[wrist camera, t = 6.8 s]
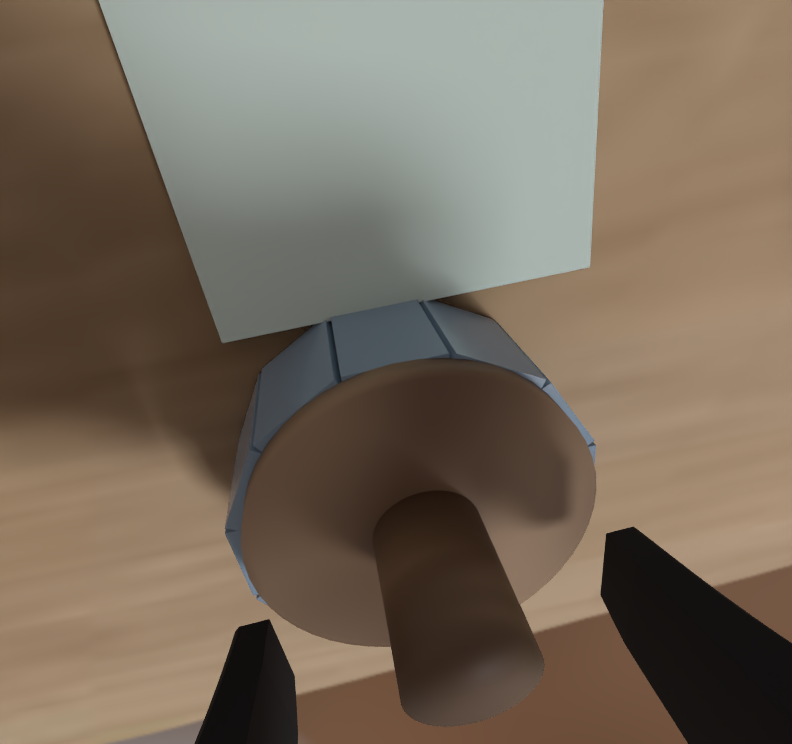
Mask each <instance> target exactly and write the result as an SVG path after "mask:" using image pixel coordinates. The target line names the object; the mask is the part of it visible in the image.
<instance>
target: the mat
mask: <svg viewBox="0 0 792 744" xmlns="http://www.w3.org/2000/svg"><path fill="white" fill-rule="evenodd" d="M603 2H604V0H99V3H100V6H101V8H102V11H103V14H104V17H105V20H106V22H107V25H108V28H109V31H110V33H111V36H112V39H113V42H114V45H115V47H116V50H117V53H118V56H119V58H120V61H121V64H122V67H123V70H124V72H125V75H126V78H127V81H128V83H129V86H130V89H131V92H132V95H133V97H134V100H135V103H136V106H137V108H138V111H139V114H140V117H141V120H142V122H143V125H144V128H145V131H146V133H147V136H148V139H149V142H150V145H151V147H152V150H153V153H154V156H155V158H156V161H157V164H158V167H159V170H160V172H161V175H162V178H163V181H164V183H165V186H166V189H167V192H168V195H169V197H170V200H171V203H172V206H173V208H174V211H175V214H176V217H177V220H178V222H179V225H180V228H181V231H182V233H183V236H184V239H185V242H186V245H187V247H188V250H189V253H190V256H191V258H192V261H193V264H194V267H195V270H196V272H197V275H198V278H199V281H200V283H201V286H202V289H203V292H204V295H205V297H206V300H207V303H208V306H209V308H210V311H211V314H212V317H213V320H214V322H215V325H216V328H217V331H218V333H219V336H220V339H221V342H222V343H226V342H231V341H236V340H241V339H246V338H250V337H255V336H260V335H265V334H270V333H274V332H279V331H284V330H289V329H294V328H299V327H303V326H308V325H313V324H318V323H322V322H323V321H324V320H326V321H327V322H328V321H331V317H334V316H339V315H344V314H349V313H353V312H358V311H363V310H368V309H373V308H378V307H382V306H387V305H392V304H397V303H402V302H407V301H411V300H416V299H417V301H418V302H422V300H425V301H429V300H434V299H438V298H443V297H448V296H453V295H458V294H463V293H467V292H472V291H477V290H482V289H487V288H491V287H496V286H501V285H506V284H511V283H516V282H520V281H525V280H530V279H535V278H540V277H545V276H549V275H554V274H559V273H564V272H569V271H573V270H578V269H583V268H588V267H590V256H591V236H592V217H593V197H594V178H595V158H596V139H597V119H598V100H599V80H600V61H601V41H602V21H603Z"/></svg>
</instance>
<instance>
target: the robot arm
mask: <svg viewBox="0 0 792 744" xmlns="http://www.w3.org/2000/svg"><path fill="white" fill-rule="evenodd" d="M601 597H602V599H603V601H604V603H605V605H606V607H607V609H608V611H609V613H610V615H611V617H612V619H613V621H614V623H615V625H616V627H617V629H618V631H619V633H620V635H621V637H622V639H623V641H624V643H625V645H626V646H627V648H628V649H629V651H630V653H631V654H632V656H633V658H634V659H635V661H636V662H637V664H638V665H639V667H640V669H641V670H642V672H643V673H644V675H645V676H646V678H647V680H648V681H649V683H650V684H651V686H652V688H653V689H654V691H655V692H656V694H657V695H658V697H659V699H660V700H661V702H662V703H663V705H664V706H665V708H666V710H667V711H668V713H669V714H670V716H671V717H672V719H673V720H674V722H675V723H676V725H677V727H678V728H679V730H680V731H681V733H682V735H683V736H684V738H685V739H686V741H687V742H688V744H792V643H791V642H789V641H788V640H786V639H785V638H783V637H782V636H780V635H779V634H777V633H776V632H774V631H773V630H772V629H770V628H768V627H767V626H766V625H764V624H763V623H761V622H760V621H759V620H757V619H756V618H754V617H752V616H751V615H750V614H749V613H747V612H746V611H745V610H743V609H742V608H740V607H739V606H738V605H736V604H735V603H733V602H732V601H731V600H729V599H728V598H726V597H725V596H724V595H722V594H721V593H720V592H718V591H717V590H715V589H714V588H713V587H711V586H710V585H709V584H707V583H706V582H705V581H703V580H702V579H701V578H699V577H698V576H697V575H696V574H694V573H693V572H692V571H690V570H689V569H688V568H686V567H685V566H684V565H682V564H681V563H680V562H679V561H677V560H676V559H675V558H673V557H672V556H671V555H670V554H668V553H667V552H666V551H664V550H663V549H662V548H661V547H659V546H658V545H657V544H655V543H654V542H653V541H652V540H650V539H649V538H648V537H646V536H645V535H644V534H643V533H641V532H640V531H639V530H637V529H636V528H634V527H630V528H626V529H622V530H618V531H614V532H610V533H607V534H606V542H605V553H604V563H603V574H602V585H601ZM195 744H298V725H297V706H296V691H295V676H294V673H293V671H292V669H291V667H290V664H289V662H288V660H287V658H286V655H285V653H284V651H283V649H282V646H281V644H280V642H279V640H278V637H277V635H276V633H275V631H274V629H273V626H272V624H271V622H270V620H269V619H268V620H264V621H260V622H256V623H252V624H249V625H245V626H241V627H239V628H238V629H237V630H236V631H235V634H234V637H233V640H232V644H231V647H230V650H229V653H228V656H227V659H226V662H225V665H224V667H223V670H222V673H221V676H220V679H219V682H218V684H217V687H216V690H215V693H214V695H213V698H212V701H211V703H210V706H209V709H208V711H207V714H206V716H205V719H204V721H203V724H202V726H201V729H200V731H199V734H198V736H197V739H196V741H195Z"/></svg>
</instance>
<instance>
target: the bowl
mask: <svg viewBox="0 0 792 744" xmlns="http://www.w3.org/2000/svg"><path fill="white" fill-rule="evenodd" d="M331 321H332V322H331ZM331 321H328V322H327V321H326V320H324V321H323V322H322V323H318V324H314V325H313V326H312V327H310V328H309V329H308V330H307V331H306V332H305V333H303V334H302V335H301V336H300V337H299V338H297V339H296V340H295V341H294V342H293V343H292V344H290V345H289V346H288V347H287V348H286V349H284V350H283V351H282V352H281V353H280V354H279V355H277V356H276V357H275V358H274V359H273V360H271V361H270V362H269V363H268V364H267V365H266V366H264V367H263V368H262V372H261V373H259V374H258V378H257V381H256V384H255V388H254V391H253V394H252V398H251V401H250V404H249V408H248V411H247V414H246V418H245V421H244V424H243V427H242V431H241V434H240V437H239V442H238V448H237V455H236V461H235V467H234V474H233V480H232V486H231V493H230V499H229V505H228V512H227V518H226V524H225V529H226V531H225V534H226V537H227V539H228V541H229V543H230V545H231V548H232V550H233V552H234V554H235V557H236V559H237V561H238V563H239V565H240V568H241V570H242V572H243V574H244V576H245V579H246V581H247V583H248V585H249V587H250V590H251V592H252V594H253V596H254V595H257V600H259V601H261V602H263V603H264V604H266V602H265V601H264V600H263V599H262V598H261V596H260V595H259V594H258V593H257V591H256V589H255V588H254V586H253V584H252V582H251V581H250V579H249V576H248V574H247V571H246V568H245V565H244V562H243V556H242V550H241V525H242V517H243V509H244V500H245V496H246V491H247V486H248V482H249V479H250V477H251V474H252V472H253V469H254V467H255V464H256V462H257V460H258V458H259V457H260V455H261V453H262V452H263V450H264V448H265V447H266V445H267V443H268V442H269V441H270V440H271V438H272V437H273V436H274V435H275V433H276V432H277V431H278V430H279V429H280V427H281V426H282V425H283V424H284V423H285V422H286V421H287V420H288V419H289V418H290V417H292V416H293V415H294V414H295V413H296V412H297V411H298V410H299V409H300V408H301V407H303V406H304V405H306V404H307V403H308V402H310V401H311V400H312V399H314V398H315V397H317V396H318V395H319V394H321V393H323V392H324V391H326V390H328V389H330V388H332V387H333V386H335V385H337V384H339V383H340V382H342V381H344V380H347V379H349V378H352V377H354V376H356V375H359V374H361V373H364V372H366V371H369V370H372V369H376V368H379V367H383V366H386V365H390V364H393V363H399V362H405V361H411V360H417V359H431V358H454V359H468V360H474V361H479V362H483V363H488V364H493V365H496V366H499V367H501V368H504V369H507V370H510V371H513V372H515V373H517V374H518V375H520V376H522V377H524V378H526V379H528V380H530V381H532V382H533V383H534V384H536V385H537V386H538V387H540V388H541V389H542V390H544V391H545V392H546V393H547V394H548V395H549V396H550V397H551V398H552V399H553V400H554V401H555V402H556V403H557V404H558V405H559V406H560V408H561V409H562V410H563V411H564V412H565V413H566V415H567V416H568V417H569V418H570V419H571V420H572V422H573V423H574V424H575V425H576V426H577V428H578V429H579V431H580V433H581V434H582V436H583V437H584V439H585V440H586V442H587V445H588V447H589V450H590V452H591V455H592V457H593V462H594V463H595V449H596V445H595V444H594V443H593V441H594V439H593V438H592V437H591V435H590V434H589V433H588V431H587V430H586V429H585V427H584V426H583V425H582V423H581V422H580V421H579V419H578V418H577V417H576V415H575V414H574V413H573V411H572V410H571V409H570V407H569V406H568V405H567V403H566V402H565V401H564V399H563V398H562V397H561V395H560V394H559V393H558V391H557V390H556V388H555V387H554V386H553V384H552V383H551V382H550V381H549V380H548V379H547V377H546V376H545V375H544V374H543V373H542V372H541V371H540V370H539V369H538V367H537V366H536V365H535V364H534V363H533V362H532V361H531V360H530V359H529V357H528V356H527V355H526V354H525V353H524V352H523V351H522V350H521V348H520V347H519V346H518V345H517V344H516V343H515V342H514V341H513V340H512V338H511V337H510V336H509V335H508V334H507V333H506V332H505V331H504V329H503V328H502V327H501V326H500V325H499V324H498V323H497V322H495V321H494V320H493V319H490V318H487V317H484V316H481V315H478V314H475V313H472V312H469V311H466V310H462V309H459V308H456V307H453V306H450V305H447V304H444V303H441V302H438V301H435V300H429V301H425V300H422V302H418V301H417V299H416V300H411V301H407V302H402V303H397V304H392V305H387V306H382V307H378V308H373V309H368V310H363V311H358V312H353V313H349V314H344V315H339V316H334V317H331ZM266 605H267V604H266Z"/></svg>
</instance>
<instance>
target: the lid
mask: <svg viewBox="0 0 792 744" xmlns="http://www.w3.org/2000/svg"><path fill="white" fill-rule="evenodd" d="M595 495H596V472H595V467H594V462H593V457H592V455H591V452H590V450H589V447H588V445H587V442H586V440H585V439H584V437H583V436H582V434H581V433H580V431H579V429H578V428H577V426H576V425H575V424H574V423H573V422H572V420H571V419H570V418H569V417H568V416H567V415H566V413H565V412H564V411H563V410H562V409H561V408H560V406H559V405H558V404H557V403H556V402H555V401H554V400H553V399H552V398H551V397H550V396H549V395H548V394H547V393H546V392H545V391H544V390H542V389H541V388H540V387H538V386H537V385H536V384H534V383H533V382H532V381H530V380H528V379H526V378H524V377H522V376H520V375H518V374H517V373H515V372H513V371H510V370H507V369H504V368H501V367H499V366H496V365H493V364H488V363H483V362H479V361H474V360H468V359H454V358H431V359H417V360H411V361H405V362H399V363H393V364H390V365H386V366H383V367H379V368H376V369H372V370H369V371H366V372H364V373H361V374H359V375H356V376H354V377H352V378H349V379H347V380H344V381H342V382H340V383H339V384H337V385H335V386H333V387H332V388H330V389H328V390H326V391H324V392H323V393H321V394H319V395H318V396H317V397H315V398H314V399H312V400H311V401H310V402H308V403H307V404H306V405H304V406H303V407H301V408H300V409H299V410H298V411H297V412H296V413H295V414H294V415H293V416H292V417H290V418H289V419H288V420H287V421H286V422H285V423H284V424H283V425H282V426H281V427H280V429H279V430H278V431H277V432H276V433H275V435H274V436H273V437H272V438H271V440H270V441H269V442H268V443H267V445H266V447H265V448H264V450H263V452H262V453H261V455H260V457H259V458H258V460H257V462H256V464H255V467H254V469H253V472H252V474H251V477H250V479H249V482H248V486H247V491H246V496H245V500H244V509H243V517H242V525H241V550H242V556H243V562H244V565H245V568H246V571H247V574H248V576H249V579H250V581H251V582H252V584H253V586H254V588H255V589H256V591H257V593H258V594H259V595H260V596H261V598H262V599H263V600H264V601H265V602H266V604H267V605H268V606H269V607H270V608H271V609H273V610H274V611H275V612H276V613H277V614H278V615H280V616H281V617H282V618H283V619H285V620H287V621H288V622H290V623H291V624H293V625H295V626H296V627H298V628H300V629H302V630H304V631H307V632H309V633H311V634H313V635H316V636H319V637H322V638H325V639H328V640H332V641H336V642H341V643H346V644H352V645H360V646H375V647H391V650H392V655H393V661H394V667H395V672H396V678H397V684H398V689H399V695H400V700H401V705H402V708H403V709H404V711H405V712H406V713H407V715H409V716H410V717H411V718H412V719H414V720H416V721H418V722H421V723H423V724H427V725H432V726H444V727H447V726H460V725H466V724H471V723H476V722H479V721H483V720H486V719H488V718H491V717H494V716H496V715H498V714H500V713H502V712H504V711H506V710H508V709H510V708H512V707H513V706H514V705H516V704H518V703H519V702H520V701H522V700H523V699H524V698H525V697H526V696H527V695H528V694H530V693H531V692H532V690H533V689H534V688H535V687H536V685H537V684H538V683H539V681H540V679H541V676H542V675H543V671H544V658H543V656H542V653H541V651H540V649H539V647H538V644H537V642H536V640H535V638H534V635H533V633H532V631H531V629H530V626H529V624H528V622H527V620H526V617H525V615H524V613H523V611H522V608H521V606H520V604H521V603H523V602H524V601H526V600H527V599H528V598H530V597H531V596H533V595H534V594H535V593H536V592H537V591H539V590H540V589H541V588H542V587H543V586H544V585H545V584H547V583H548V582H549V581H550V580H551V579H552V578H553V577H554V576H555V575H556V573H557V572H558V571H559V570H560V569H561V568H562V567H563V566H564V564H565V563H566V562H567V560H568V559H569V558H570V557H571V555H572V554H573V552H574V551H575V549H576V547H577V546H578V544H579V543H580V541H581V539H582V537H583V535H584V533H585V531H586V528H587V526H588V524H589V521H590V518H591V515H592V511H593V508H594V502H595Z"/></svg>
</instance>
